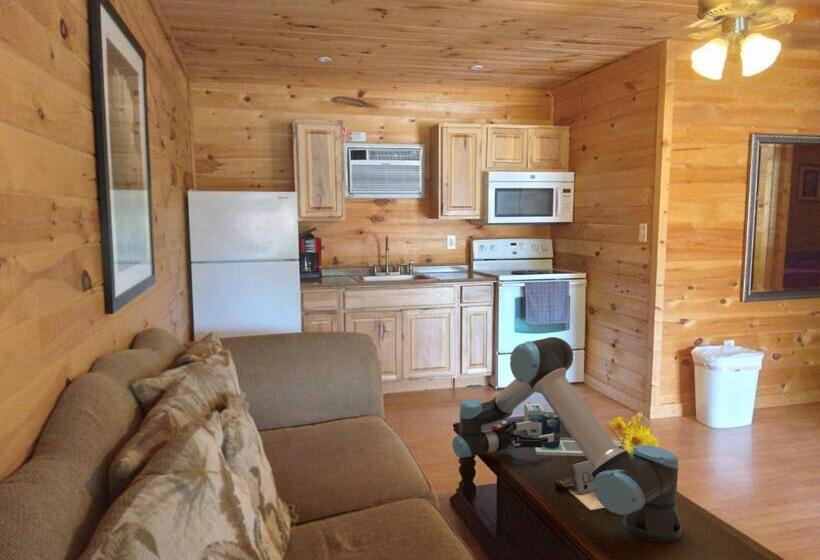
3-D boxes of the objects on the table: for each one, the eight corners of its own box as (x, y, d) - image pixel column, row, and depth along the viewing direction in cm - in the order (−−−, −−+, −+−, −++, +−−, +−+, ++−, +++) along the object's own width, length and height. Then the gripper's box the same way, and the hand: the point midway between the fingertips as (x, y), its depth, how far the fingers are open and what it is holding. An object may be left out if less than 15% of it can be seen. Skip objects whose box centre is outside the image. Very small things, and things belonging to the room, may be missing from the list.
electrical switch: (579, 495, 179) (578, 466, 179) (568, 490, 184) (567, 461, 184) (602, 489, 183) (601, 461, 183) (590, 484, 188) (589, 456, 188)
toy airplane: (490, 433, 230) (490, 418, 229) (510, 431, 232) (510, 416, 231) (499, 442, 221) (499, 426, 220) (520, 439, 223) (520, 424, 223)
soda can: (557, 450, 210) (557, 419, 209) (538, 446, 213) (539, 416, 212) (562, 443, 216) (562, 413, 214) (544, 440, 219) (544, 410, 218)
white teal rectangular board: (591, 456, 208) (591, 453, 207) (536, 454, 209) (536, 451, 209) (583, 441, 221) (583, 438, 221) (531, 439, 223) (531, 436, 223)
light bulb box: (545, 436, 227) (545, 410, 225) (528, 436, 227) (528, 410, 225) (539, 426, 237) (540, 401, 236) (523, 426, 237) (523, 401, 236)
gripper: (475, 437, 215) (521, 429, 224) (513, 464, 193) (563, 453, 202) (475, 418, 215) (522, 410, 223) (514, 443, 192) (563, 432, 201)
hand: (541, 430), depth 213 cm, fingers open, 13 cm apart
